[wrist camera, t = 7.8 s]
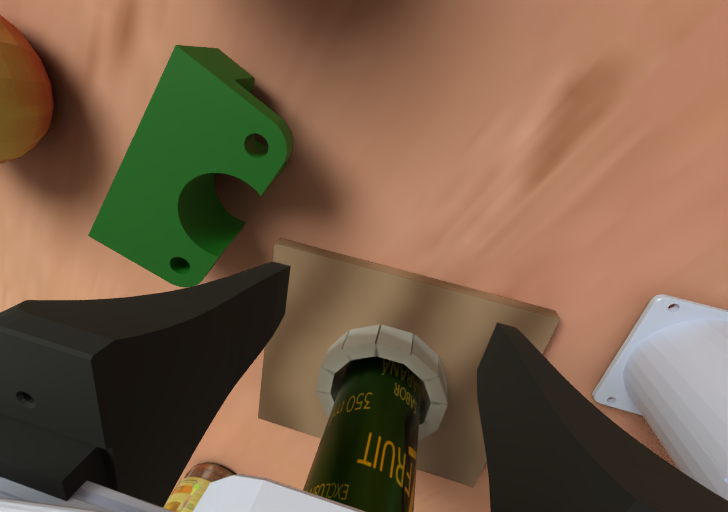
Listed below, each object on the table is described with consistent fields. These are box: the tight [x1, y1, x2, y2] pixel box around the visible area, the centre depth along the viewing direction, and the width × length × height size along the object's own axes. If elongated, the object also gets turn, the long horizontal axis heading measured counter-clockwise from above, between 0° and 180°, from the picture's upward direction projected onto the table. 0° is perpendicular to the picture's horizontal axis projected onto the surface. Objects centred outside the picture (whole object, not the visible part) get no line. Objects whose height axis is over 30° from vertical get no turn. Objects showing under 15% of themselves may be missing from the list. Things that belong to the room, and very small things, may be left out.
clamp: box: [88, 45, 293, 287], centre depth 19 cm, size 12×6×9 cm, turn 136°
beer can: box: [303, 356, 421, 512], centre depth 20 cm, size 5×5×12 cm
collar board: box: [258, 238, 560, 487], centre depth 24 cm, size 18×16×3 cm
